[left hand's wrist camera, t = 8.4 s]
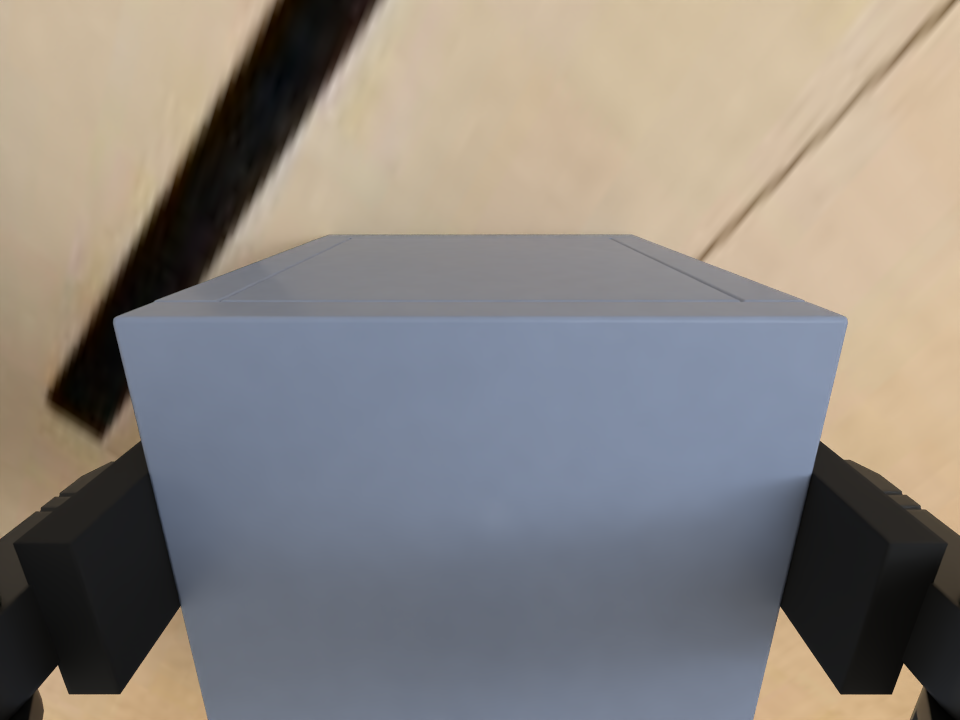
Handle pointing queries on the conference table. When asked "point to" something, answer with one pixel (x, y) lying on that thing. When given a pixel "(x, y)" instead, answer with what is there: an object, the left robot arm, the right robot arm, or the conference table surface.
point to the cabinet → (480, 476)
